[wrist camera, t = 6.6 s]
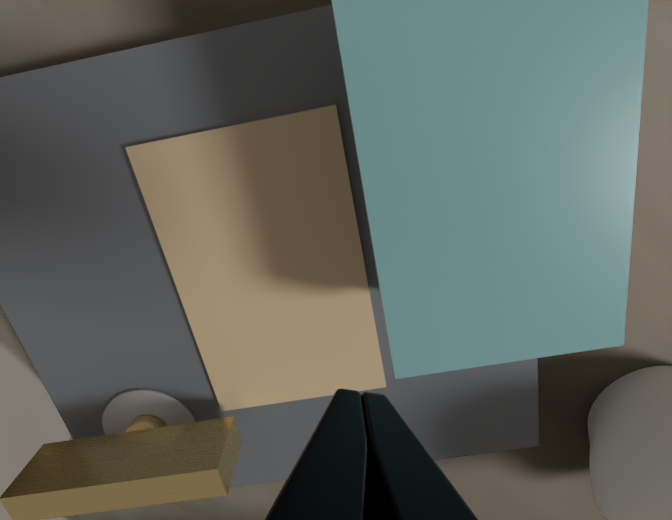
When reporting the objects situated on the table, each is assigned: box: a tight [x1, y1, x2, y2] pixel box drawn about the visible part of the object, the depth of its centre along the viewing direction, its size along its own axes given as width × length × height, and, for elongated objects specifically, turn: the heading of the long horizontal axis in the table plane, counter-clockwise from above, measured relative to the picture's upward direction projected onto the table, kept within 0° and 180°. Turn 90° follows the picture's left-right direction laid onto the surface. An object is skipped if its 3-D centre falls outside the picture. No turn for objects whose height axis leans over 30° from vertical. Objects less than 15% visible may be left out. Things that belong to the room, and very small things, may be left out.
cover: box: [331, 0, 649, 379], centre depth 12 cm, size 10×7×3 cm, turn 11°
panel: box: [0, 5, 539, 487], centre depth 18 cm, size 20×22×4 cm
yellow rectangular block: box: [0, 414, 242, 520], centre depth 19 cm, size 2×9×4 cm, turn 101°
